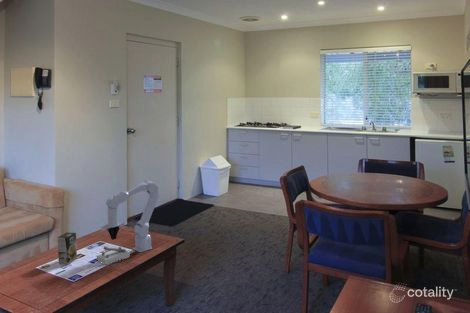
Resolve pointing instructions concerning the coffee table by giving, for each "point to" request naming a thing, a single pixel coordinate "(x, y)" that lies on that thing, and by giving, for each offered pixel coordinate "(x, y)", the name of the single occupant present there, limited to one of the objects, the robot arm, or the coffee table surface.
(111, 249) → the strap
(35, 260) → the coffee table surface
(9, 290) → the coffee table surface
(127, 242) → the coffee table surface
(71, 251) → the coffee box
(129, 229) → the coffee table surface
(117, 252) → the latch block
